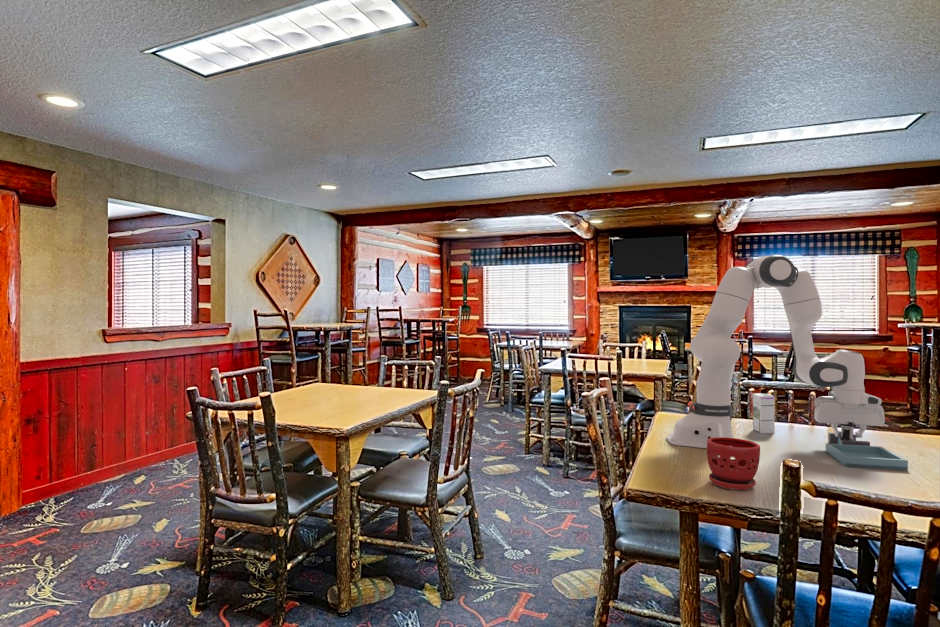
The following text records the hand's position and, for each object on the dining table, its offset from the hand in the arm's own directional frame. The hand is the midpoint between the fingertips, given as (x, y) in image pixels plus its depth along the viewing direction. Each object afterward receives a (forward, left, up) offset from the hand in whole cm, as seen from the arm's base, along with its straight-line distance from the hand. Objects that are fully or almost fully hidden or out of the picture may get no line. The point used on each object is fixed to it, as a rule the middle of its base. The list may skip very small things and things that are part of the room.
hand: (848, 437), depth 185 cm
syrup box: (-22, +18, -4) cm, 29 cm away
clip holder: (0, 0, -4) cm, 4 cm away
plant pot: (-47, -51, -4) cm, 69 cm away
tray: (-2, -17, -4) cm, 17 cm away
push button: (0, 0, -4) cm, 4 cm away
